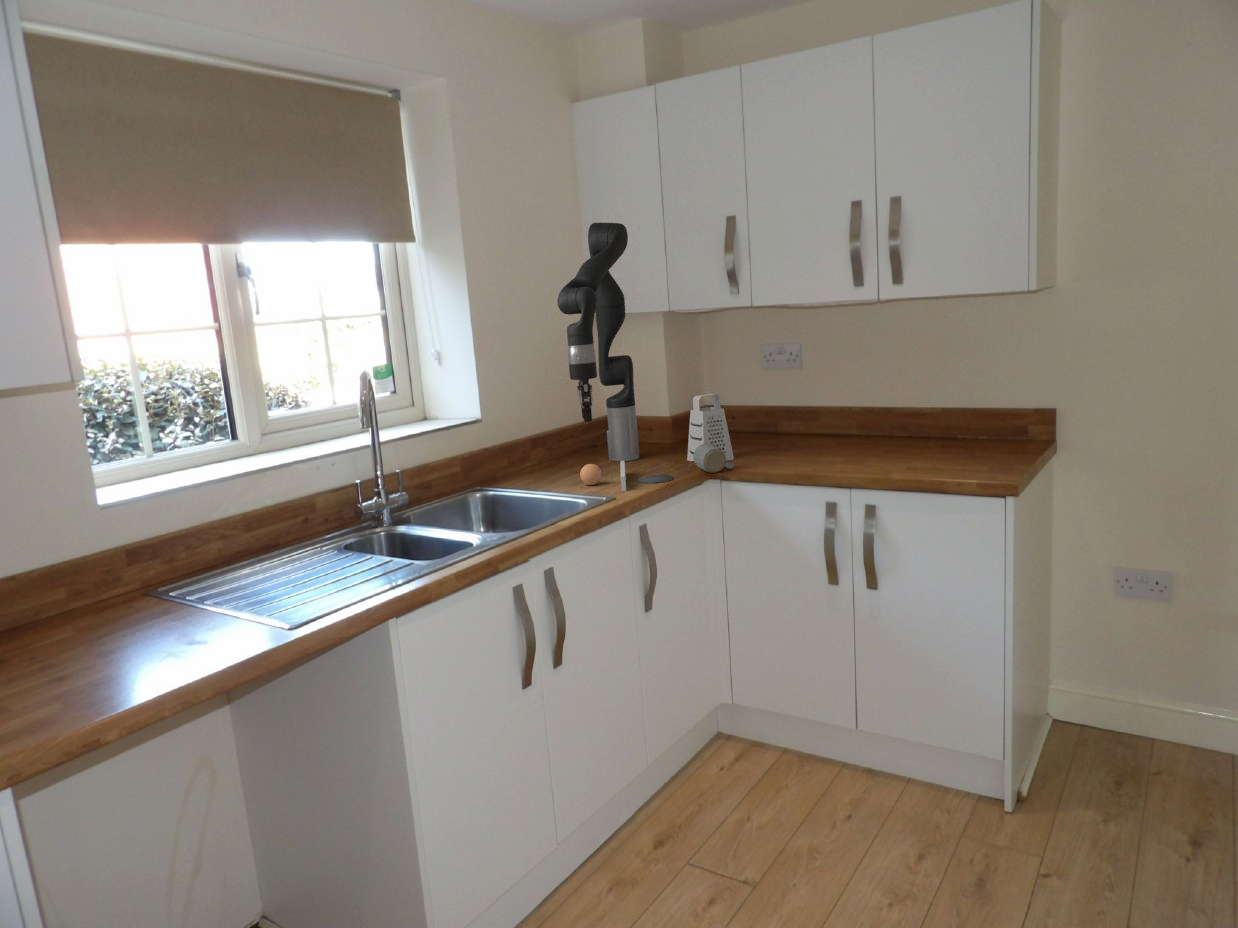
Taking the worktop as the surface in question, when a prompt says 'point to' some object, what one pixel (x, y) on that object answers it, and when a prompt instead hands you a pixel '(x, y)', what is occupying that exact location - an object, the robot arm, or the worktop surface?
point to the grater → (708, 428)
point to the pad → (655, 478)
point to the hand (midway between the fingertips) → (587, 420)
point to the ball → (590, 474)
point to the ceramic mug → (710, 458)
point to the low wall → (623, 475)
